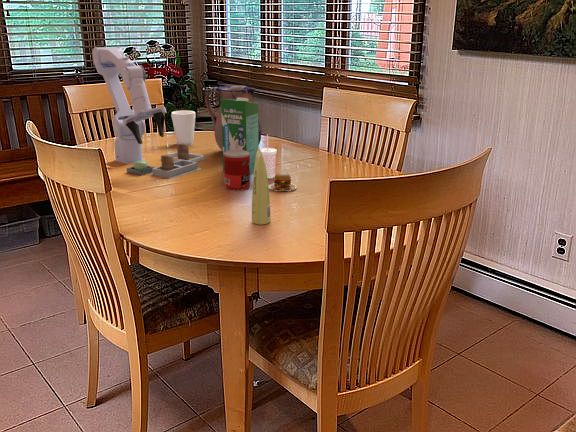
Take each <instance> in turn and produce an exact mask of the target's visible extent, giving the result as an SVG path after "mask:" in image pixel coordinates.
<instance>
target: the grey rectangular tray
mask: <svg viewBox="0 0 576 432" xmlns="http://www.w3.org/2000/svg"><path fill="white" fill-rule="evenodd" d="M154 167H155V168H152V172H151V173H149V175H150V176H151V175H152V176H155V177H161V178H165V179H170V180H173V179H176V178H178V177H181V176H184V175H187V174H190V173H194V172H197V171H199V170H200V171H201V170H202V168H201V167H199V162H192V161H187V160H179V161H176V162H174V169H173V170H169V171H166V170H162V165H159V166H157V167H156V166H154Z"/></svg>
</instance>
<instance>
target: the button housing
mask: <svg viewBox="0 0 576 432" xmlns="http://www.w3.org/2000/svg"><path fill="white" fill-rule="evenodd" d="M147 166H148V168H147V169H144V170H141V171H140V170H136V169H134V165H133V166H131V167H127V168H126V173H127V174H131V175H136V176H144V175H147V174H148V175H149V174H150V173H152V168H155V167H156V166H151V165H147Z"/></svg>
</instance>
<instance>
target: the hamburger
mask: <svg viewBox="0 0 576 432" xmlns="http://www.w3.org/2000/svg"><path fill="white" fill-rule="evenodd" d="M291 178H292V177H291V175H290V174H289V173H287V172H278V173H277V174H275V177H274V178H273V183H270V184H268V185H269V190H271V191H273V190H274V192H277V191H278V189H281V190H280V191H283V190H282V189H287V191H288V192H292V191H294V190H296V189H297V188H298V187H297V185H296V184H294V183H292V181H293V179H291ZM291 184H293V185H295V186H296V187H295V189H294V188H293V189H290V188H291V187H292V186H291ZM273 185H274V186H273ZM271 186H272V187H274V188H275V189H272V187H271ZM291 190H292V191H291Z"/></svg>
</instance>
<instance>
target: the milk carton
mask: <svg viewBox="0 0 576 432" xmlns="http://www.w3.org/2000/svg"><path fill="white" fill-rule="evenodd" d="M220 106H221V117H222V148H223V151H222V170H223V171H224V152H226V151H229V150H244V151H248V152H249V154H250V175H251V174H254V167H255V159H256V153H257V150H258V146H259V145H260V144H259V129H258V118H259V103H255V102H254V103H252V102H248V99H247V98H237V100H230V99H222V98H221V99H220ZM259 147H260V146H259Z"/></svg>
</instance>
